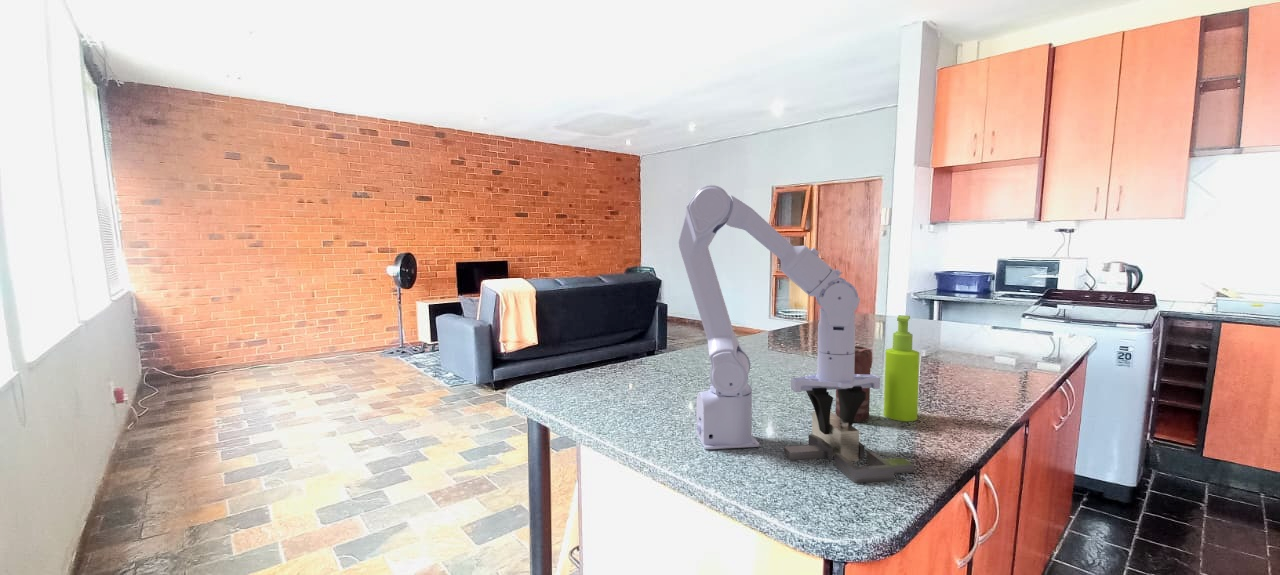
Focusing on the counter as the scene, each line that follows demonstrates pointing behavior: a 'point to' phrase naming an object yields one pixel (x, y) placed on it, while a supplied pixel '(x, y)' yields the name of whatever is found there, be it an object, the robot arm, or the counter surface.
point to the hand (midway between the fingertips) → (834, 431)
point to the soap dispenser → (901, 375)
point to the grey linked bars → (872, 473)
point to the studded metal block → (839, 436)
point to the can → (862, 367)
